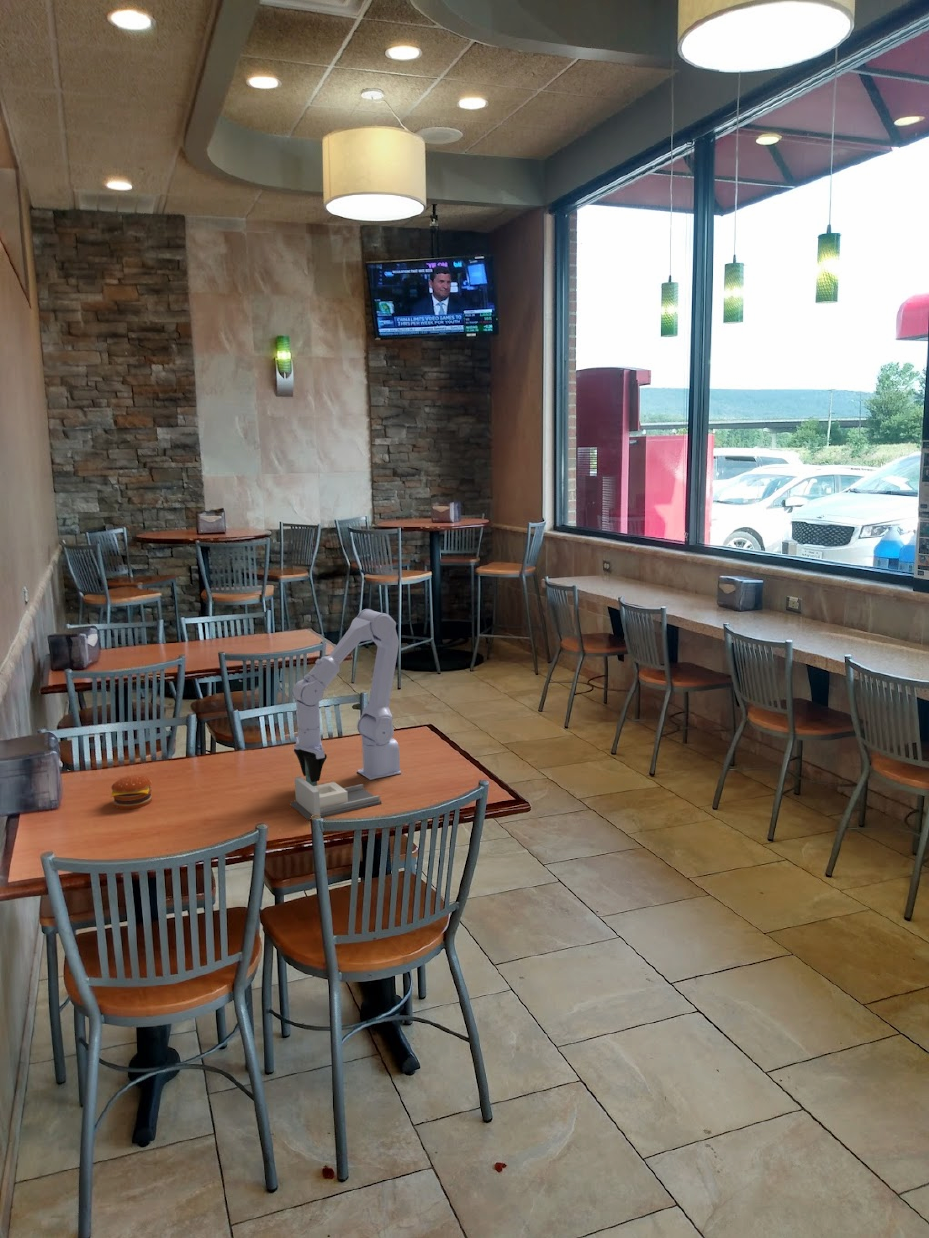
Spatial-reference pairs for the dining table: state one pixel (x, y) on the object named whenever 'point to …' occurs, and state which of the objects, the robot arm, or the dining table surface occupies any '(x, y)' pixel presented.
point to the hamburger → (131, 792)
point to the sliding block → (331, 794)
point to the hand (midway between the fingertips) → (311, 777)
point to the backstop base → (310, 806)
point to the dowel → (309, 776)
